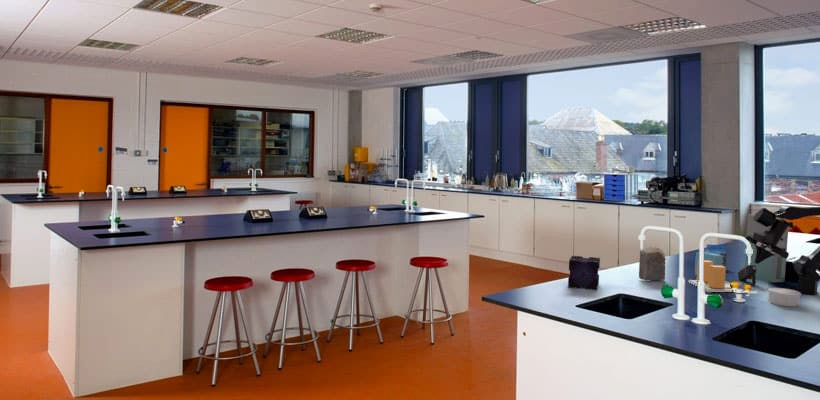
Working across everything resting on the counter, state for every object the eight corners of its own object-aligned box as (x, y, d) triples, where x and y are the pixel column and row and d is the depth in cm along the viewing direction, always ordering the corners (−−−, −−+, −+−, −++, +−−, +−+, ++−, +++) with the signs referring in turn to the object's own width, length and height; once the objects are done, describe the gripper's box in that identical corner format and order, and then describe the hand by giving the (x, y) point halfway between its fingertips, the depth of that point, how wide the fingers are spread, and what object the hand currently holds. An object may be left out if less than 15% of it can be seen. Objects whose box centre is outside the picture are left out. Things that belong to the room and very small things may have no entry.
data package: (721, 280, 289) (723, 255, 288) (714, 281, 287) (715, 255, 286) (701, 275, 300) (702, 251, 299) (694, 275, 298) (695, 251, 297)
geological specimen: (646, 282, 281) (647, 249, 280) (637, 279, 287) (638, 247, 285) (665, 281, 284) (667, 248, 283) (656, 278, 290) (657, 246, 289)
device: (784, 282, 289) (789, 218, 286) (771, 282, 287) (776, 218, 284) (756, 274, 305) (760, 214, 302) (743, 275, 303) (747, 214, 300)
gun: (744, 292, 290) (741, 271, 294) (760, 283, 275) (756, 261, 279) (738, 292, 291) (735, 271, 294) (753, 283, 276) (750, 261, 279)
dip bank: (725, 283, 282) (725, 280, 282) (748, 293, 263) (748, 290, 263) (688, 282, 282) (688, 279, 282) (708, 292, 263) (708, 289, 263)
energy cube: (567, 287, 267) (569, 259, 266) (570, 282, 278) (572, 255, 277) (596, 290, 263) (598, 262, 262) (598, 284, 274) (599, 257, 273)
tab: (707, 280, 280) (708, 260, 280) (711, 282, 277) (713, 262, 276) (696, 279, 281) (697, 260, 280) (700, 281, 277) (701, 261, 276)
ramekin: (796, 309, 239) (797, 295, 238) (764, 303, 246) (765, 290, 246) (802, 304, 247) (803, 291, 247) (770, 299, 255) (771, 286, 254)
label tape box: (707, 269, 317) (708, 245, 316) (704, 267, 321) (706, 244, 320) (725, 270, 315) (727, 246, 314) (723, 268, 319) (724, 244, 318)
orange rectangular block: (719, 286, 269) (721, 265, 268) (724, 288, 265) (725, 267, 264) (708, 285, 269) (709, 265, 268) (712, 287, 265) (714, 267, 264)
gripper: (747, 218, 272) (728, 248, 274) (781, 232, 255) (760, 265, 257) (763, 227, 276) (744, 257, 278) (798, 242, 259) (777, 274, 261)
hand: (755, 263), depth 269 cm, fingers closed
